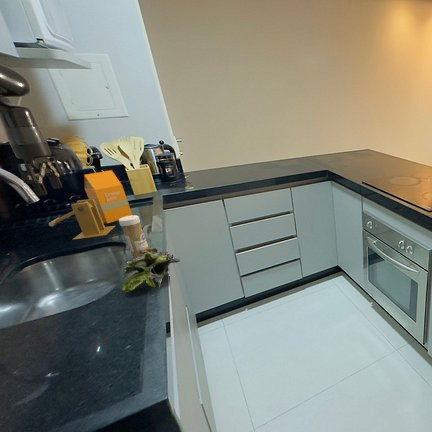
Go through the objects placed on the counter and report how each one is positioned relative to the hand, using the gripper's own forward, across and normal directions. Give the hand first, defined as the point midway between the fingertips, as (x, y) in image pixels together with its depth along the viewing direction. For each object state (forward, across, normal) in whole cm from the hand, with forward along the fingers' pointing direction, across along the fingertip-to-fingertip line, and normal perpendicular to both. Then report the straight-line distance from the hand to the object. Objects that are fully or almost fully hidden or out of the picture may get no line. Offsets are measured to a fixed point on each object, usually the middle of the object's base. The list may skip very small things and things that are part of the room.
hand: (50, 191), depth 97 cm
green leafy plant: (+18, +45, +36) cm, 60 cm away
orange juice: (+18, -16, +7) cm, 25 cm away
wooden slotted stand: (+18, -1, +6) cm, 19 cm away
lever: (+10, -1, +3) cm, 10 cm away
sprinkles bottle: (+18, +26, +28) cm, 42 cm away
